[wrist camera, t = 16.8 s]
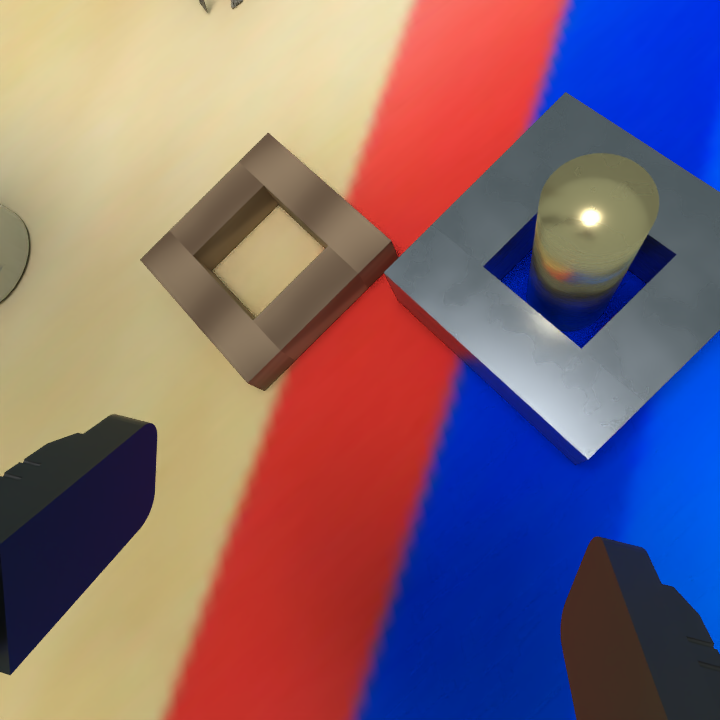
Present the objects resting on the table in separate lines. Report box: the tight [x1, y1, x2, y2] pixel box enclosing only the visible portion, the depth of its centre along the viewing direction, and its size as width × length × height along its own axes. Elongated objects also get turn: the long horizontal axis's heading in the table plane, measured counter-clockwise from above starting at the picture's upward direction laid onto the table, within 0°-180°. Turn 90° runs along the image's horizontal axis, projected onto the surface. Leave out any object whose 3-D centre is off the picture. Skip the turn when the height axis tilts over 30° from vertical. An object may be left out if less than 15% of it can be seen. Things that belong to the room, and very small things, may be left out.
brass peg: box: [527, 153, 659, 331], centre depth 27 cm, size 4×4×10 cm
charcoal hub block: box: [384, 92, 720, 465], centre depth 30 cm, size 14×14×4 cm
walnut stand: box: [140, 133, 398, 391], centre depth 36 cm, size 12×12×2 cm
